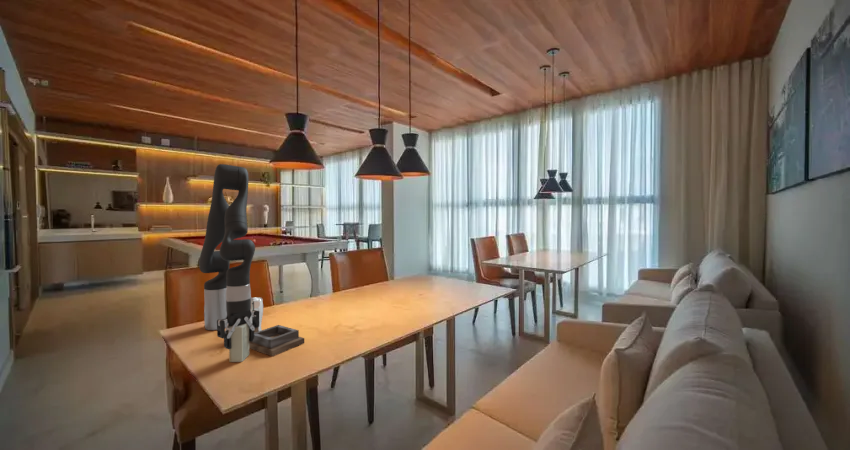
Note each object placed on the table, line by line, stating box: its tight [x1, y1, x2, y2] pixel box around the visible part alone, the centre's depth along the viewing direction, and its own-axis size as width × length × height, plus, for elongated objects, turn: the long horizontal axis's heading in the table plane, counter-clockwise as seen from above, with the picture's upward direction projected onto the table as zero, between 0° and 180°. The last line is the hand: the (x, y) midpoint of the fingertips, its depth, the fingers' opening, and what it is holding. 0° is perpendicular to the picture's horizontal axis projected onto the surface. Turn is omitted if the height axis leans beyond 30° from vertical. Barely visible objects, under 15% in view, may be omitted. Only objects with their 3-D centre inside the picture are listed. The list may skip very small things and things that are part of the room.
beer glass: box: [249, 296, 264, 333], centre depth 142 cm, size 7×7×15 cm
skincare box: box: [228, 323, 250, 363], centre depth 120 cm, size 6×4×12 cm
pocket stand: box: [249, 324, 305, 357], centre depth 133 cm, size 16×14×5 cm
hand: (239, 344), depth 121 cm, fingers closed on skincare box, 7 cm apart
